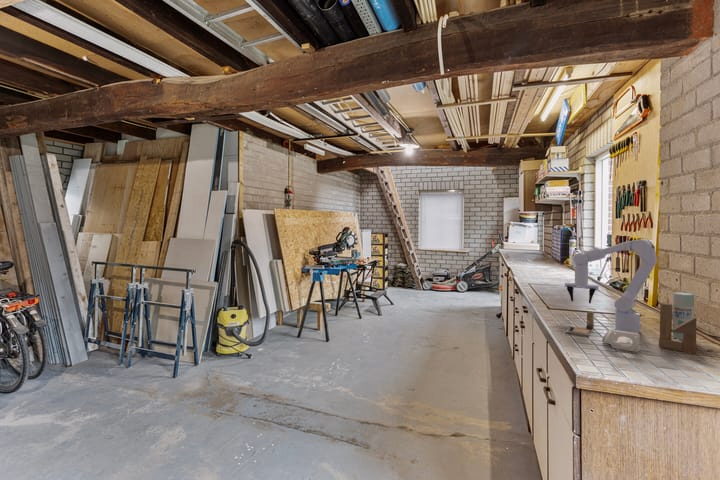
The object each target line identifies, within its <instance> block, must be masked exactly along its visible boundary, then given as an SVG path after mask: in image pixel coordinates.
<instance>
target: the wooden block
mask: <svg viewBox="0 0 720 480" xmlns="http://www.w3.org/2000/svg"><path fill="white" fill-rule="evenodd" d="M659 308H660V309H659V311H660V312H659V313H660V314H659V337H658V347H659V348H662V349H663V348H664V349H668V350H674V351H679V352H685V353H689V352H691V353H690V354H696V352H697V349H696V347H697V320H698V319H697V315H695V316H693V318H691V319H689V320H688V321H686V322H684V323H682V324H680V325H679V326H677V327H675V328H673V303H668V302H661V303H660V307H659ZM673 332H676V333H683V341H682V340H677V339H674V338H673Z"/></svg>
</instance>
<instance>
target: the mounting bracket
mask: <svg viewBox="0 0 720 480" xmlns="http://www.w3.org/2000/svg"><path fill="white" fill-rule="evenodd" d="M640 338H641V337H640V333H639V334H638V333H633V332H626V331H619V330H614V329H611V328H610V329H607V330H606V332H605V333H604V335H603V337H602V338H601V342H603V343H604V344H610V346H611V348H612V349H618V350H624V351H629V352H636V353H638V352H639V351H640Z"/></svg>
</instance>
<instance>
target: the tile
mask: <svg viewBox="0 0 720 480" xmlns="http://www.w3.org/2000/svg"><path fill="white" fill-rule="evenodd" d="M579 328H580V327H578V328H574V329H572V332H577V333H583V334H589V335H590V333H591V332H590V330H585V329H586V328H584V329H579Z"/></svg>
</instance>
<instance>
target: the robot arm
mask: <svg viewBox="0 0 720 480" xmlns="http://www.w3.org/2000/svg"><path fill="white" fill-rule="evenodd" d="M621 251H629V252H634V253H635V254H637V255H638V256H639V257H638V258H639V259H640V260H641V263H640V265H639V267H638V269H637V270H636V272H635V274H634V275H633V276H632V278H631V280H630V281H629V284H628V286H627V287H626V289H625V291H624V292H623V293H622V294H621V296H620V297H619V298H618V299H616V300H615V302H614V307H615V312H614V313H615V317H614V326H613V330H619V331H626V332H633V333H638V334H639V335H640V330H641V327H642V326H641V325H640V323H641V318H640V317H641V316H640V315H641V314H640V313H641V312H635V310H634V307H635V306H636V301H637V300H636V299H637V298H638V295H639V293H640V291H641V290H642V288H643V286H644V284H645V283H646V282H647V279H648V278H649V276H650V274H651V273H652V271H653V270H654V268H655V266H656V264H657V263H658V258H657V257H658V256H657V253H656V246H655V245H654V244H653V243H652V241H651V240H650V239H648V238H641V239H637V240H636V239H635V240H630V241H623V242H620V243H618V244H614V245H611V246H609V247H605V248H603V247H598V246H593V248H592V249H589V250H583V251H582V252H578V253H576V254H575V255H574V256H573V261H574V263H575V264H574V283H573V282H565V283H564V288H566V290H567V292H568V294H569V297H570V302H574V288H575V289H576V288H577V289H587V290H588V289H589V291H588V292H589V294H588V296H589V297H588V298H589V299H588V304H591V303H592V299H593V296H594V294H595V292H596V291H599V286H600V285H595V284H589V263H592V262H595V261H599V260H602V259H605V258H606V256H607V255H610V254H614V253H618V252H621Z"/></svg>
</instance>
